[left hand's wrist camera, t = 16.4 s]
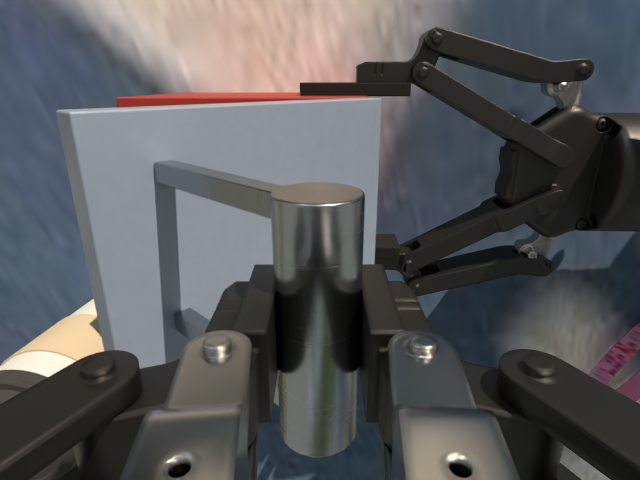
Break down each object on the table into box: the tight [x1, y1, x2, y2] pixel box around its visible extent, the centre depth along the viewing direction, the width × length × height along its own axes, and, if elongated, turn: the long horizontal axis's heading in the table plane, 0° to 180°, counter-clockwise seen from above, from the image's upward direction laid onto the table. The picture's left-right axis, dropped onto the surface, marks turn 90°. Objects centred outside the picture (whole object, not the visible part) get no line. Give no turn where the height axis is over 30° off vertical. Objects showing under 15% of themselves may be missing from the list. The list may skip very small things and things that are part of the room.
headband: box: [589, 323, 640, 401], centre depth 40 cm, size 11×4×2 cm, turn 153°
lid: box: [56, 98, 382, 458], centre depth 16 cm, size 15×10×10 cm
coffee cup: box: [0, 299, 104, 480], centre depth 34 cm, size 9×9×15 cm
